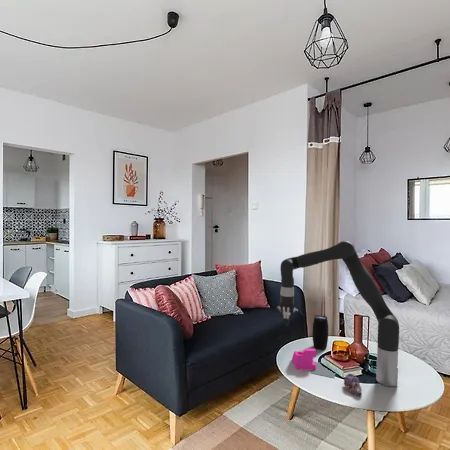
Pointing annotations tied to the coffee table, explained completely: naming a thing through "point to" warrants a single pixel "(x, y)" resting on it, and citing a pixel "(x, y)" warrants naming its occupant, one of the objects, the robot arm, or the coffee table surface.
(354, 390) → the purple rock
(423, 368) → the coffee table surface
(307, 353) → the bracket
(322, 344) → the portable speaker
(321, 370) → the grey mat
